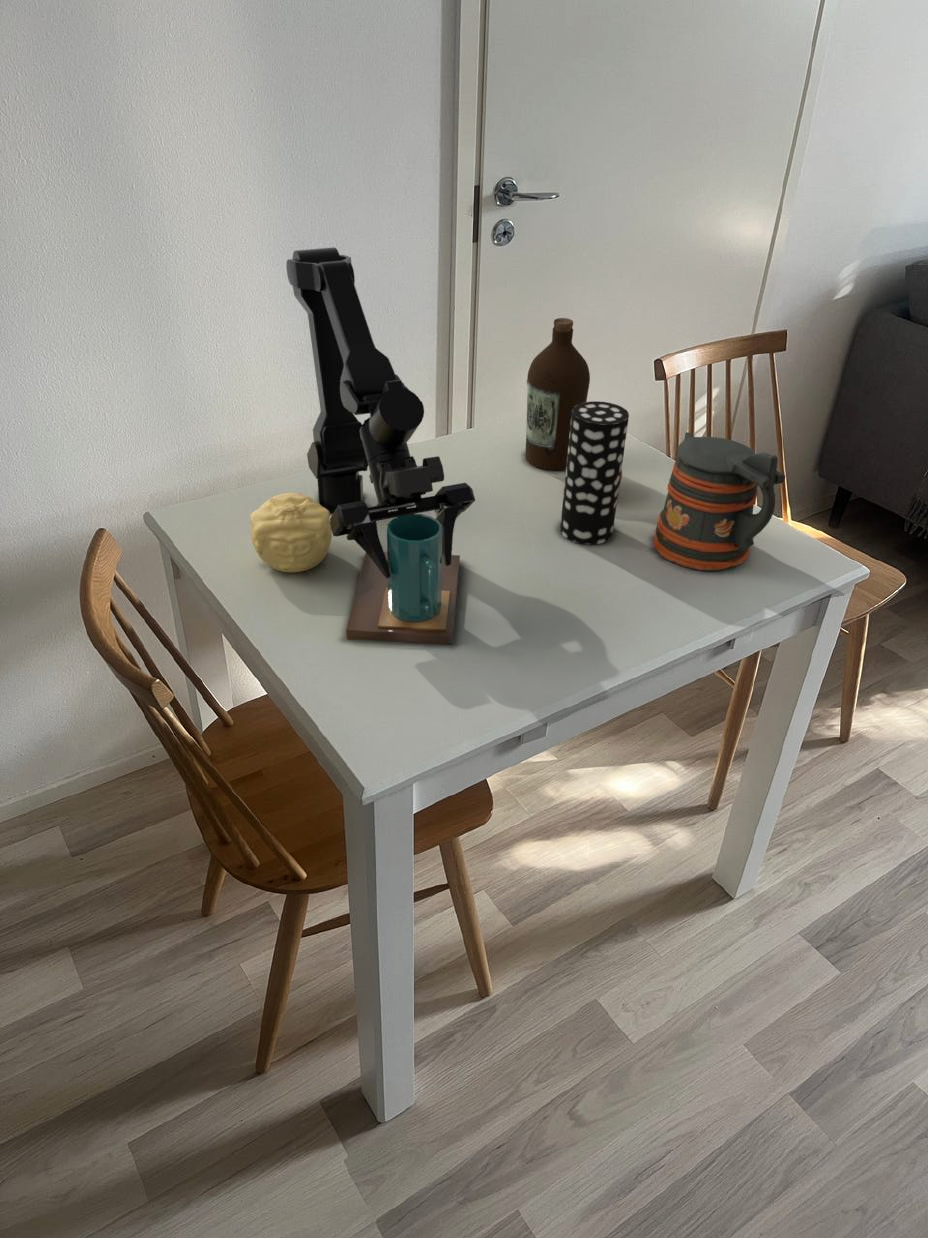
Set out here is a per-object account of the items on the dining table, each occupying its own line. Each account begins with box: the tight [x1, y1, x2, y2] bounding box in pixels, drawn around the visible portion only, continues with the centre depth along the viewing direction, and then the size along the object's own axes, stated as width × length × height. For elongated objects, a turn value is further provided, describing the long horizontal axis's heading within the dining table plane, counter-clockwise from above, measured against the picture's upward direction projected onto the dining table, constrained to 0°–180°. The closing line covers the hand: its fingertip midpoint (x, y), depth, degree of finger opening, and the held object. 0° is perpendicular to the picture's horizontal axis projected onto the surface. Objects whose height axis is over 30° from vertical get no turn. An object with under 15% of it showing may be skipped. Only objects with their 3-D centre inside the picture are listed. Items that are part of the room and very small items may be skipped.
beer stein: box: [653, 431, 786, 572], centre depth 142 cm, size 19×15×20 cm
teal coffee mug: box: [386, 513, 442, 622], centre depth 126 cm, size 10×7×12 cm
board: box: [345, 551, 461, 645], centre depth 135 cm, size 14×20×2 cm
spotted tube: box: [559, 400, 630, 545], centre depth 147 cm, size 8×8×20 cm
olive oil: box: [524, 317, 591, 471], centre depth 166 cm, size 11×11×25 cm
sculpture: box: [249, 492, 333, 573], centre depth 140 cm, size 12×12×11 cm
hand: (418, 571), depth 126 cm, fingers open, 8 cm apart
